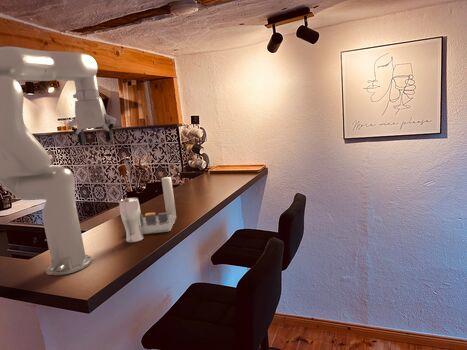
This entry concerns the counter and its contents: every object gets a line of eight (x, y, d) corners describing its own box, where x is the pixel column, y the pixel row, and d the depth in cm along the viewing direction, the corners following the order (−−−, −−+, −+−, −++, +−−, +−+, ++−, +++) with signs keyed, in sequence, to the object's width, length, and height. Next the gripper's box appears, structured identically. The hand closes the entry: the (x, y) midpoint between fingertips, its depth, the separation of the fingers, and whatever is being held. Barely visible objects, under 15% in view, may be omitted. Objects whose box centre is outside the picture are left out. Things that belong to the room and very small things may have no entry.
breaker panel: (169, 231, 129) (168, 223, 129) (128, 235, 129) (127, 227, 129) (175, 221, 141) (174, 214, 140) (136, 225, 141) (135, 217, 141)
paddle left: (142, 222, 133) (141, 216, 133) (133, 223, 133) (132, 217, 133) (143, 220, 135) (142, 214, 135) (134, 221, 135) (133, 215, 135)
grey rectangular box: (167, 219, 133) (166, 213, 133) (158, 220, 133) (157, 214, 133) (168, 218, 135) (167, 212, 135) (159, 219, 135) (158, 213, 135)
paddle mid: (155, 221, 133) (154, 213, 133) (146, 221, 133) (144, 214, 133) (156, 219, 135) (155, 212, 135) (147, 220, 135) (146, 213, 135)
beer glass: (138, 234, 129) (132, 196, 127) (148, 238, 124) (142, 198, 122) (121, 240, 125) (115, 201, 122) (130, 244, 120) (124, 203, 117)
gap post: (175, 220, 143) (170, 178, 140) (166, 220, 143) (160, 179, 140) (177, 217, 147) (171, 176, 144) (168, 218, 147) (162, 177, 144)
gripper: (59, 98, 119) (68, 146, 122) (108, 93, 119) (115, 141, 122) (69, 99, 126) (77, 145, 129) (115, 94, 126) (122, 140, 129)
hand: (95, 143), depth 126 cm, fingers open, 9 cm apart
